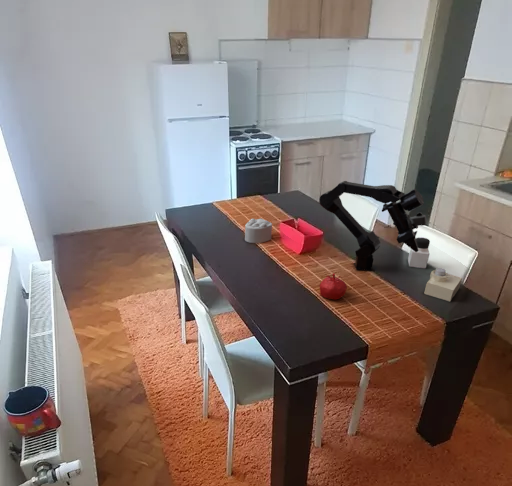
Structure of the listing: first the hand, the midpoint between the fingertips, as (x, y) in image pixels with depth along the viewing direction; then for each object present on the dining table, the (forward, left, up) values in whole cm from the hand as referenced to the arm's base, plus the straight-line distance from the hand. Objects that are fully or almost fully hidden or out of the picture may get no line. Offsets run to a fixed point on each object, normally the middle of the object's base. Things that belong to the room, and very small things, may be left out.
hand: (417, 251), depth 185 cm
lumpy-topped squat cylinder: (-62, +39, -13) cm, 75 cm away
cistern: (+10, -8, -13) cm, 19 cm away
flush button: (+8, -7, -7) cm, 13 cm away
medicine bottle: (+8, +16, -13) cm, 22 cm away
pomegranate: (-34, -15, -13) cm, 40 cm away
